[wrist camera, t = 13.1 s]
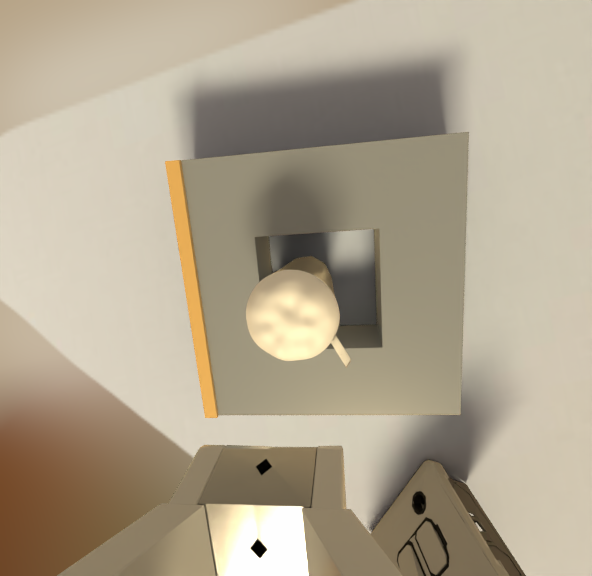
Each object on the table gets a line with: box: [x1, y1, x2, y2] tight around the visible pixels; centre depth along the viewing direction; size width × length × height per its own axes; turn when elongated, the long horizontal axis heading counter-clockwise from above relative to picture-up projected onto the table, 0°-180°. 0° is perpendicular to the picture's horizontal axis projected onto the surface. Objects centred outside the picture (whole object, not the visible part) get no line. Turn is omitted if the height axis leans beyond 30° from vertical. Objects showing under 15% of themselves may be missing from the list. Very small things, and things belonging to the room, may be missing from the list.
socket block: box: [165, 132, 469, 418], centre depth 24 cm, size 16×16×4 cm
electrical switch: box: [371, 460, 526, 576], centre depth 25 cm, size 9×5×9 cm, turn 154°
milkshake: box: [246, 256, 351, 368], centre depth 21 cm, size 4×5×10 cm
